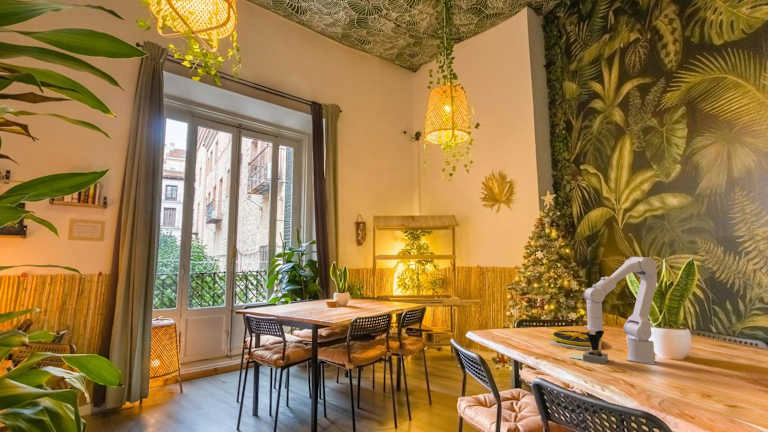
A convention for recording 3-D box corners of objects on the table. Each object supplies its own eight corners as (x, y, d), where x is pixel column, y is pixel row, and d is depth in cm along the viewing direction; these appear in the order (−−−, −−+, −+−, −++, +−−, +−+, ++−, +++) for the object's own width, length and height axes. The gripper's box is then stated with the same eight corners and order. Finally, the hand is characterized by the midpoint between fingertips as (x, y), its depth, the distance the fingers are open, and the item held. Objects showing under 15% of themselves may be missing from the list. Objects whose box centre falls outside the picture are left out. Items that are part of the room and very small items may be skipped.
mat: (585, 356, 170) (585, 355, 170) (582, 360, 164) (582, 359, 164) (572, 354, 173) (572, 353, 173) (569, 358, 167) (569, 357, 167)
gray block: (607, 359, 165) (607, 353, 166) (604, 364, 158) (604, 358, 158) (587, 356, 170) (586, 350, 170) (583, 361, 163) (582, 354, 163)
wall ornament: (609, 329, 197) (593, 343, 175) (610, 340, 197) (594, 355, 175) (562, 323, 213) (542, 335, 191) (562, 333, 213) (542, 346, 190)
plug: (602, 356, 165) (602, 337, 165) (601, 358, 161) (600, 339, 162) (591, 354, 167) (590, 335, 168) (589, 356, 164) (588, 337, 164)
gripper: (587, 313, 174) (588, 344, 173) (581, 317, 162) (582, 350, 161) (605, 314, 169) (606, 346, 168) (600, 319, 158) (601, 353, 157)
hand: (595, 348), depth 164 cm, fingers closed on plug, 4 cm apart
